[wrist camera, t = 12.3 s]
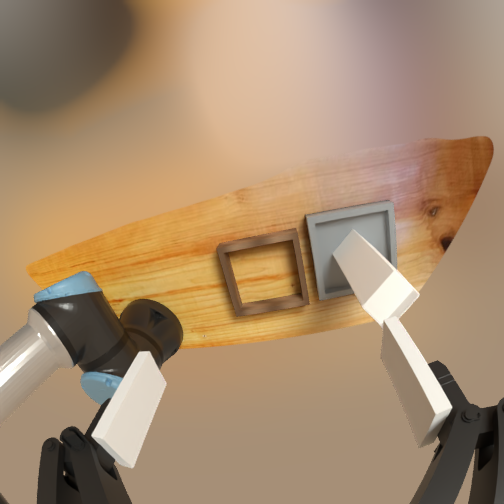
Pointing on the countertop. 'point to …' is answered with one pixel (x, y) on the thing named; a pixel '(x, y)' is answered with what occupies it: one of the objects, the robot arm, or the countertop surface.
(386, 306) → the milk
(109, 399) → the robot arm
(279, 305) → the frame
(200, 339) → the countertop surface
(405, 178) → the countertop surface
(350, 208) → the tray
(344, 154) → the countertop surface
